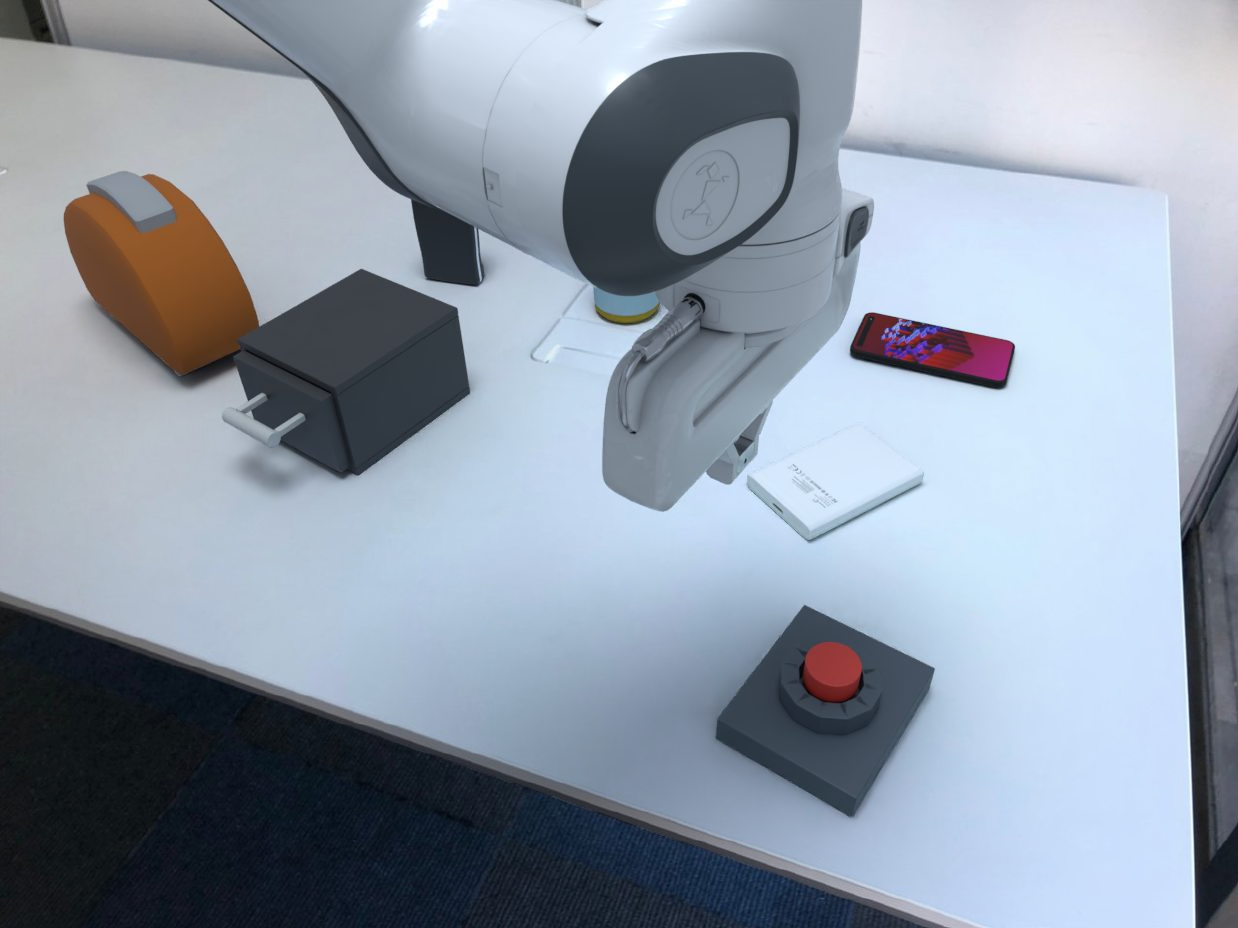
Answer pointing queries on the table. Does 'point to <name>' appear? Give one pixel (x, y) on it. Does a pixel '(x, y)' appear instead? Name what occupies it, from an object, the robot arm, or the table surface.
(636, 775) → the table surface
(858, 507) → the hard drive
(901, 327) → the smartphone
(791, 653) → the control block
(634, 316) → the bottle
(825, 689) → the button
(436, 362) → the dark grey box
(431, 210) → the battery charger
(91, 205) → the alarm clock
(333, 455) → the drawer
